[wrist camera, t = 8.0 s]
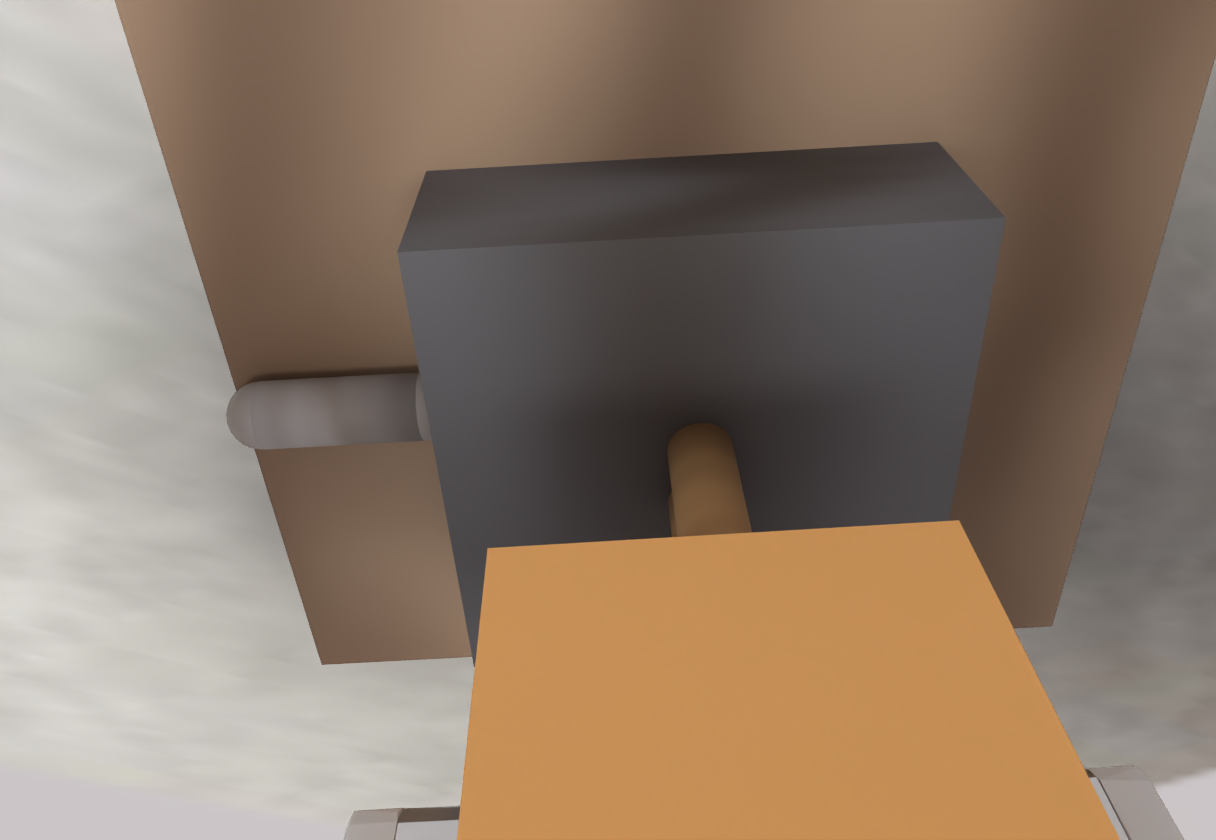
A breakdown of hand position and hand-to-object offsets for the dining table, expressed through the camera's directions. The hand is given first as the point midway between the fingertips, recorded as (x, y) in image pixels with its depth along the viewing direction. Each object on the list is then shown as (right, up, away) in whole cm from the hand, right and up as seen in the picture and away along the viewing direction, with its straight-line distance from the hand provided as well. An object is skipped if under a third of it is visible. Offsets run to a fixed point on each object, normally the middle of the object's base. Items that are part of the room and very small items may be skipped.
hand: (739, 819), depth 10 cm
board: (0, +6, +9) cm, 11 cm away
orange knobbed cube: (0, +1, +1) cm, 2 cm away
